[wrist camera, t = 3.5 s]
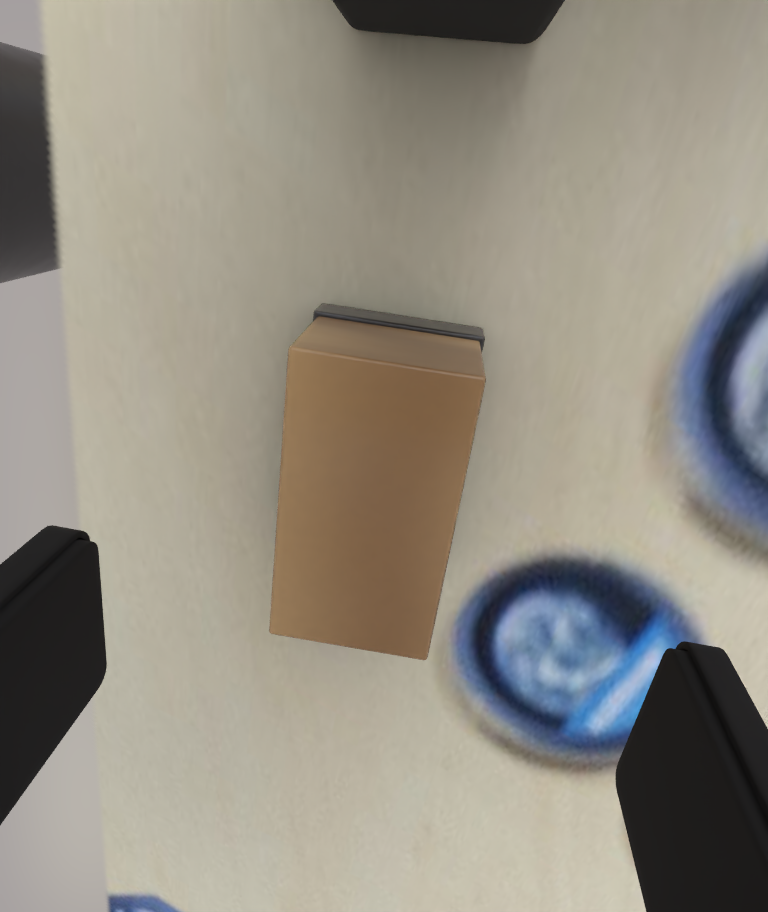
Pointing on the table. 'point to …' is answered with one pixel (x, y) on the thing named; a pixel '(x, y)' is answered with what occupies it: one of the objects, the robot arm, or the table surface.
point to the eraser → (372, 476)
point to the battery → (454, 18)
